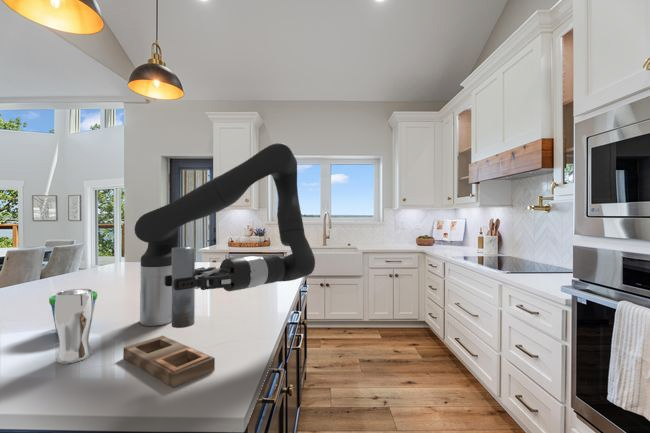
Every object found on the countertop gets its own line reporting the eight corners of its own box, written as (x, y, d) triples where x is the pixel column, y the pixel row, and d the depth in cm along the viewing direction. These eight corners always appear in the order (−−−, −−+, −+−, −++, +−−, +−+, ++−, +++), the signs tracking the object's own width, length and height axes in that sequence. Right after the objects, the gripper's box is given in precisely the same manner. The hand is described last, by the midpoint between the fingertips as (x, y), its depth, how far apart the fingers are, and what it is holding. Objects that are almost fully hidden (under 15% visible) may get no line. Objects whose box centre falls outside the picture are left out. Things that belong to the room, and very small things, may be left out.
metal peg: (167, 325, 67) (167, 248, 67) (186, 319, 71) (187, 246, 71) (179, 329, 65) (179, 249, 65) (198, 323, 68) (199, 247, 68)
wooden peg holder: (123, 358, 74) (123, 346, 74) (162, 345, 81) (162, 334, 81) (173, 387, 61) (173, 373, 61) (214, 369, 69) (214, 356, 69)
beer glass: (68, 351, 77) (69, 288, 77) (99, 351, 77) (100, 288, 77) (45, 365, 70) (46, 295, 70) (80, 364, 70) (80, 295, 70)
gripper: (229, 254, 83) (157, 260, 71) (261, 260, 73) (183, 269, 61) (229, 283, 83) (157, 295, 71) (260, 293, 73) (183, 309, 61)
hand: (169, 283), depth 66 cm, fingers closed on metal peg, 4 cm apart
